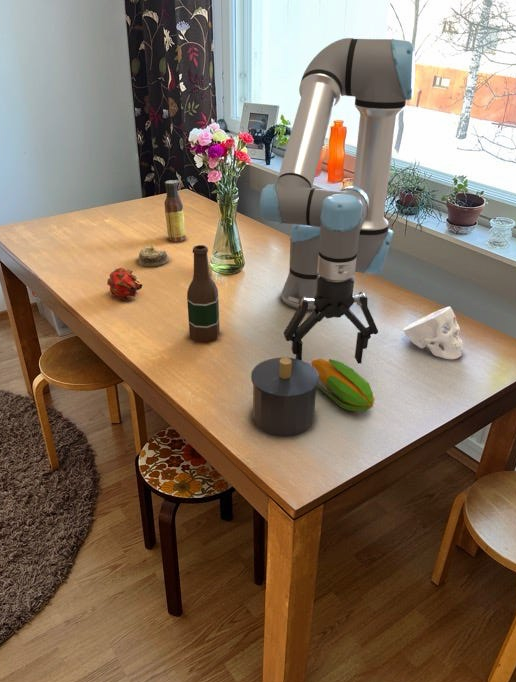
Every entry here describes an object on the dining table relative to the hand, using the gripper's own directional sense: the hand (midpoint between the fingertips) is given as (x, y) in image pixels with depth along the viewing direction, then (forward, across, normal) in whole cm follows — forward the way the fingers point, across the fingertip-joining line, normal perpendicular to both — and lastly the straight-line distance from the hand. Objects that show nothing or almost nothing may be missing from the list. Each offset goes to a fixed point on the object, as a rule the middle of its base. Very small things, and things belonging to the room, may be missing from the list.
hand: (328, 362), depth 130 cm
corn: (+6, +1, -5) cm, 8 cm away
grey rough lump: (+7, -39, +75) cm, 85 cm away
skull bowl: (+6, +30, +12) cm, 33 cm away
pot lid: (-5, -12, -11) cm, 17 cm away
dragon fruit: (+6, -47, +51) cm, 70 cm away
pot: (+5, -12, -11) cm, 17 cm away
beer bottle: (+6, -26, +25) cm, 37 cm away
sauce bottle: (+7, -31, +93) cm, 98 cm away
